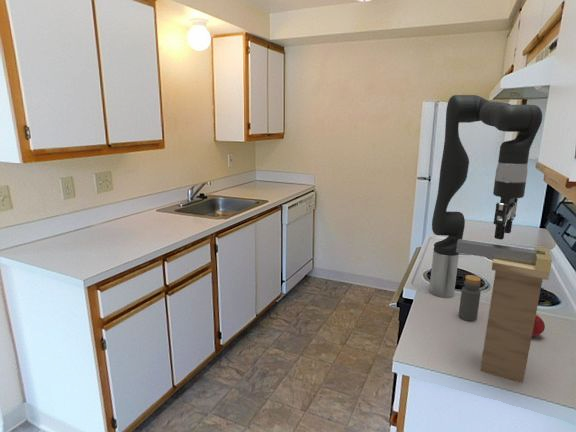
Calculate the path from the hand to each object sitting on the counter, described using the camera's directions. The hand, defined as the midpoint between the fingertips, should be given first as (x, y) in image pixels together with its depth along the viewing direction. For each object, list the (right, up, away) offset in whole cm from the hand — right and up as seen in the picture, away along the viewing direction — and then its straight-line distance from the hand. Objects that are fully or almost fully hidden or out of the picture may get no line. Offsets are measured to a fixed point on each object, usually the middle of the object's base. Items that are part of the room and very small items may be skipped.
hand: (502, 235), depth 107 cm
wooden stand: (-2, -37, -3) cm, 37 cm away
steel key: (-6, -5, -9) cm, 12 cm away
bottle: (+1, -30, +24) cm, 38 cm away
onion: (+17, -33, +13) cm, 39 cm away
